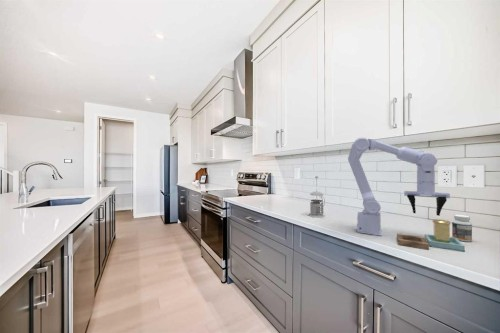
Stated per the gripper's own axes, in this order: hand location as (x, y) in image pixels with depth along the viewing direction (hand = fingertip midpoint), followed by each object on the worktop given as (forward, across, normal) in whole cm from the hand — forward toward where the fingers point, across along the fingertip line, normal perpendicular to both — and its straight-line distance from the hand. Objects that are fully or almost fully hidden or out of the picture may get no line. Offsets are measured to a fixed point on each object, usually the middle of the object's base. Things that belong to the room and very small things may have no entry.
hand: (425, 214), depth 86 cm
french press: (+11, -50, +18) cm, 54 cm away
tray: (+10, +4, -6) cm, 13 cm away
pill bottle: (+10, +12, +6) cm, 17 cm away
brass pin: (+10, +4, -6) cm, 12 cm away
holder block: (+10, -6, -11) cm, 16 cm away
